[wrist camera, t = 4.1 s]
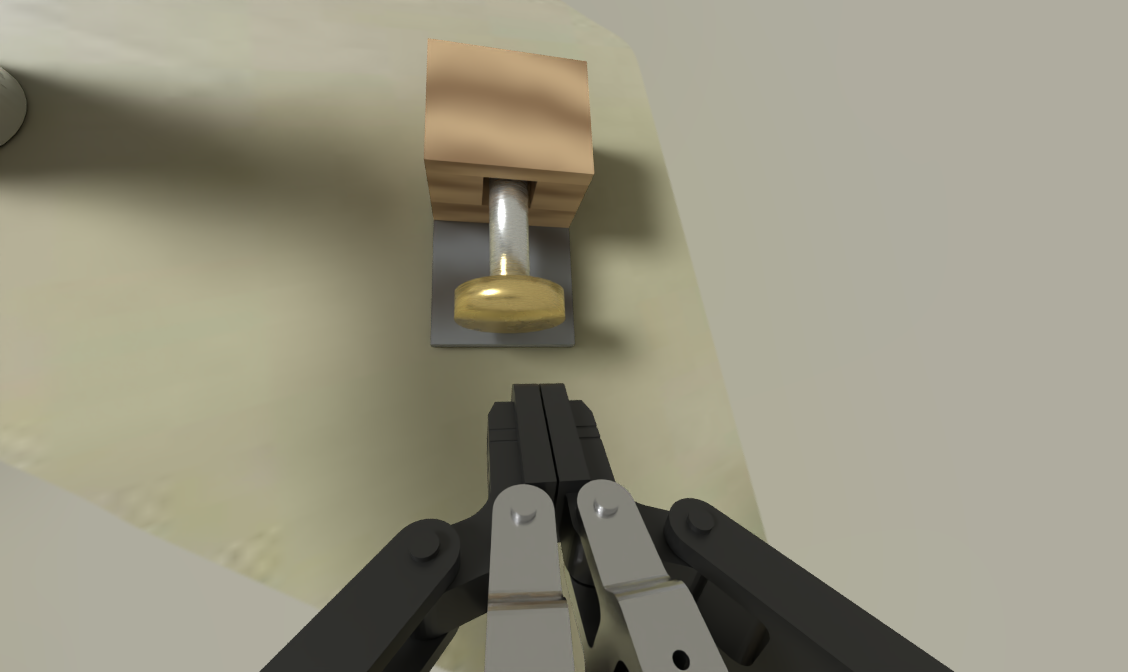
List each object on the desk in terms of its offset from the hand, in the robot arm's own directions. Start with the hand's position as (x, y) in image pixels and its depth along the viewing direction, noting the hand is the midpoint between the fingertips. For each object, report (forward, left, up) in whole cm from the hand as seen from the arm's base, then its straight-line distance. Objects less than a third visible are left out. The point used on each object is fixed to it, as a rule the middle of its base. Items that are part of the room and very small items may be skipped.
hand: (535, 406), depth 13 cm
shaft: (+11, +11, -22) cm, 27 cm away
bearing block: (+12, +13, -24) cm, 29 cm away
